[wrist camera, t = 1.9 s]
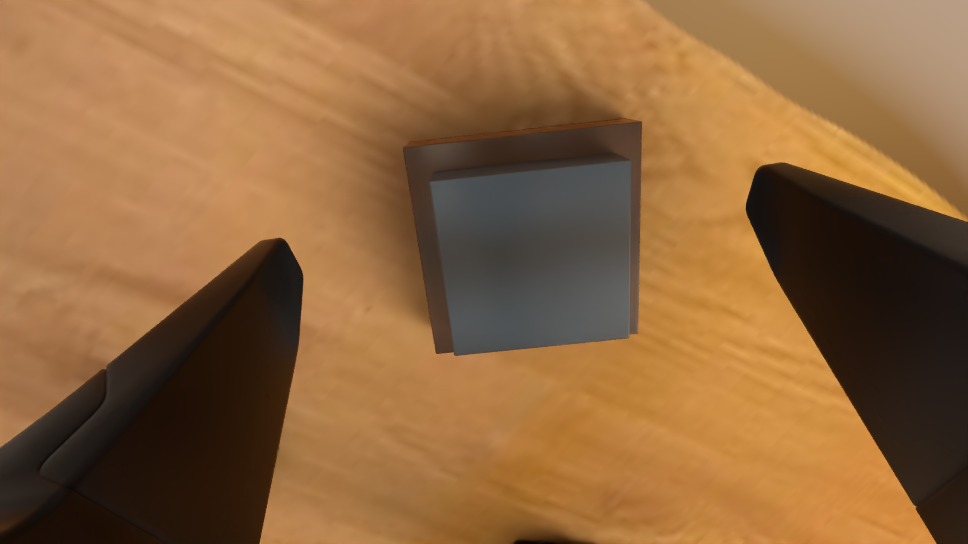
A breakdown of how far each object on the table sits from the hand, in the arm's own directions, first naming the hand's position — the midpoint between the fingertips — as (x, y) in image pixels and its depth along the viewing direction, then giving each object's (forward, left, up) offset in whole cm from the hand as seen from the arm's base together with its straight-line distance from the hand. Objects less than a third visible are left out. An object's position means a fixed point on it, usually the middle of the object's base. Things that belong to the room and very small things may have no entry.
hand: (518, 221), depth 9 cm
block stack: (-5, -2, -16) cm, 17 cm away
